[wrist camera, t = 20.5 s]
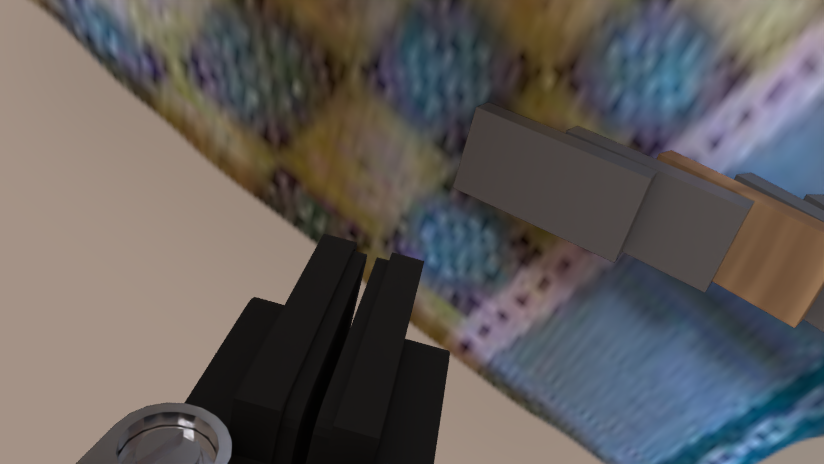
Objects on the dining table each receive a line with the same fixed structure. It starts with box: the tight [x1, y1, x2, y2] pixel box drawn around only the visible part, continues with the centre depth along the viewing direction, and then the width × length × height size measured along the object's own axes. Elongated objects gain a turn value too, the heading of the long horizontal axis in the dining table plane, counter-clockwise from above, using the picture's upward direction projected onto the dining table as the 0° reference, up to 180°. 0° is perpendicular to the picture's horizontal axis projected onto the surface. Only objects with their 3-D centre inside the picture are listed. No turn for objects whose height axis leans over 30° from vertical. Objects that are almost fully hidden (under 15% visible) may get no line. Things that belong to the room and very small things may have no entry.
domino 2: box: [566, 126, 755, 292], centre depth 37 cm, size 2×5×10 cm
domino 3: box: [734, 173, 824, 332], centre depth 36 cm, size 2×5×10 cm
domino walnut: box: [657, 150, 824, 328], centre depth 37 cm, size 2×5×10 cm
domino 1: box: [453, 102, 658, 262], centre depth 38 cm, size 2×5×10 cm
